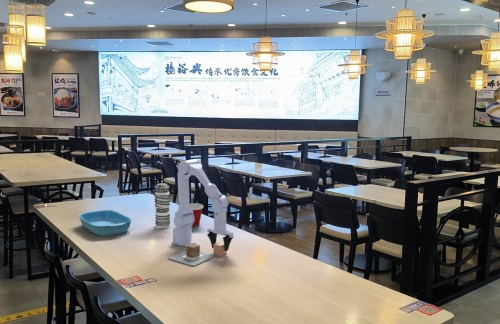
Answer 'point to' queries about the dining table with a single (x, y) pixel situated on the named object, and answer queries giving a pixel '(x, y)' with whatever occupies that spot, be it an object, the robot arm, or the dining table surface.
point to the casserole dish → (105, 222)
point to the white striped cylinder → (162, 206)
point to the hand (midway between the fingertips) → (220, 249)
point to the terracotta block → (219, 249)
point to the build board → (192, 261)
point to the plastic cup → (196, 213)
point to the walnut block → (193, 250)
